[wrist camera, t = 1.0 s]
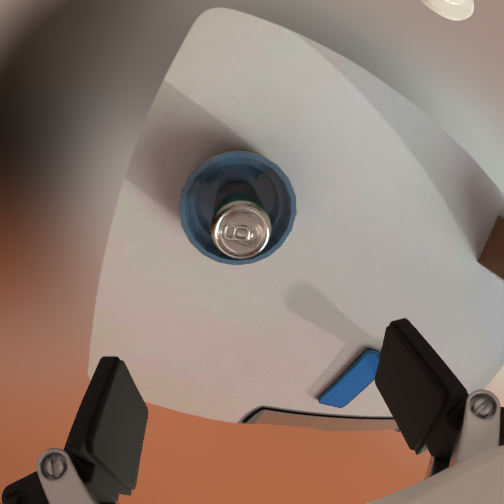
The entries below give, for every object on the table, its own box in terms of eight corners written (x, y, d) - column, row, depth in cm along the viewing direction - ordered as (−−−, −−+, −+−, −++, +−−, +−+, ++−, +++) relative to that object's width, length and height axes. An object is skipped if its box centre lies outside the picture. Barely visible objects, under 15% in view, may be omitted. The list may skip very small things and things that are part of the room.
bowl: (179, 157, 32) (171, 160, 27) (283, 146, 32) (292, 147, 28) (194, 253, 36) (189, 270, 32) (289, 242, 37) (298, 258, 32)
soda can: (253, 225, 35) (266, 267, 24) (212, 218, 34) (205, 258, 23) (262, 184, 33) (279, 208, 22) (219, 177, 33) (214, 197, 21)
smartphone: (316, 402, 49) (369, 350, 44) (315, 398, 50) (367, 346, 45) (342, 408, 51) (393, 360, 46) (341, 405, 52) (391, 356, 47)
